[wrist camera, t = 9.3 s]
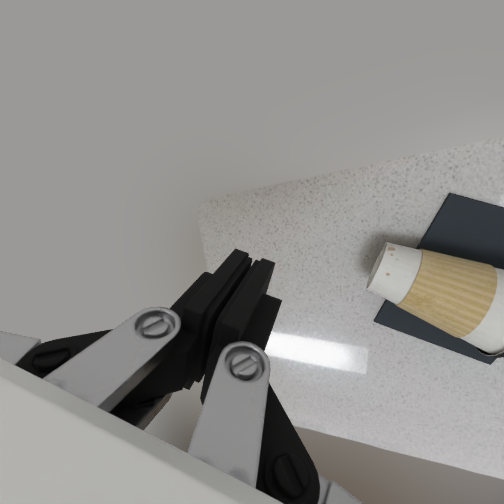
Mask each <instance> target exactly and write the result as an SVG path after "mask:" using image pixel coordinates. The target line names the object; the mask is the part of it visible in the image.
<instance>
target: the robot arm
mask: <svg viewBox="0 0 504 504" xmlns="http://www.w3.org/2000/svg"><path fill="white" fill-rule="evenodd" d="M248 256H249V254H248V253H246V252H243V251H241V250H238V249H235V250H234V251H233V252H232V253H231V254H230V255H229V256H228V258H227V259H226V260H225V261H224V262H223V263H222V264H221V266H220V267H219V268H218V269H217V270H216V271H215V272H214V274H211V273H208V272H204V273H203V274H202V275H201V276H200V277H199V278H198V279H197V280H196V281H195V282H194V283H193V285H192V286H191V287H190V288H189V289H188V290H187V291H186V292H185V293H184V294H183V295H182V296H181V297H180V298H179V299H178V300H177V301H176V302H175V303H174V305H172V307H171V308H170V309H168V308H164V307H150V308H146V309H143V310H141V311H139V312H138V313H136V314H135V315H133V316H132V317H130V318H129V319H127V320H126V321H125V322H123V323H122V324H120V325H119V326H117V327H116V328H115V329H112V330H106V331H100V332H95V333H89V334H84V335H78V336H72V337H68V338H61V339H56V340H52V341H48V342H45V343H41V341H40V339H36V338H32V337H26V336H22V335H17V334H12V333H7V332H2V331H0V504H363V503H361V502H360V501H359V500H358V499H356V498H355V497H354V496H353V495H351V494H350V493H349V492H347V491H346V490H345V489H344V488H342V487H341V486H340V485H338V484H337V483H336V482H334V481H333V480H331V482H330V483H329V482H328V481H327V480H326V479H324V478H323V477H322V476H320V475H319V474H318V473H317V470H316V468H315V465H314V463H313V461H312V460H311V458H310V456H309V454H308V452H307V450H306V449H305V447H304V445H303V443H302V441H301V439H300V438H299V436H298V434H297V432H296V431H295V429H294V427H293V425H292V423H291V421H290V420H289V418H288V416H287V414H286V412H285V411H284V409H283V407H282V405H281V403H280V402H279V400H278V398H277V396H276V394H275V393H274V391H273V389H272V387H271V385H270V384H269V376H270V361H269V359H268V356H267V355H266V353H265V352H264V350H265V347H266V345H267V342H268V339H269V336H270V334H271V331H272V328H273V325H274V322H275V319H276V317H277V314H278V311H279V308H280V305H281V302H282V300H280V299H277V298H275V297H272V296H269V295H267V294H266V292H267V289H268V286H269V282H270V279H271V276H272V273H273V269H274V266H275V263H274V262H272V261H269V260H266V259H263V258H262V259H261V260H260V261H258V260H255V262H254V263H253V265H252V266H251V263H252V258H250V257H248ZM250 267H251V268H250ZM204 374H205V377H204V381H203V387H202V392H201V397H200V399H201V402H202V405H203V407H202V410H201V413H200V416H199V419H198V422H197V425H196V428H195V431H194V434H193V437H192V440H191V443H190V446H189V449H188V452H187V453H186V452H184V451H182V450H180V449H178V448H176V447H174V446H172V445H170V444H168V443H166V442H164V441H163V440H161V439H159V438H157V437H155V436H153V435H151V434H149V433H147V432H145V431H143V430H144V429H145V428H146V427H147V426H148V424H149V423H150V422H151V421H152V420H153V419H154V417H155V416H156V415H157V414H158V413H159V411H160V410H161V409H162V408H163V407H164V406H165V404H166V403H167V402H168V401H169V399H170V398H171V396H172V394H173V392H176V391H179V390H182V388H183V387H184V388H186V389H189V390H190V388H191V386H192V384H193V383H194V381H196V382H198V383H199V382H200V381H201V379H202V377H203V376H204Z"/></svg>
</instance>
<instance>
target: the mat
mask: <svg viewBox="0 0 504 504" xmlns="http://www.w3.org/2000/svg"><path fill="white" fill-rule="evenodd" d="M417 249H418V250H419V249H424V250H428V251H433V252H437V253H441V254H446V255H450V256H454V257H459V258H463V259H467V260H472V261H476V262H480V263H485V264H489V265H492V266H493V267H494V268H499V269H503V270H504V208H503V207H499V206H496V205H492V204H488V203H485V202H481V201H477V200H474V199H470V198H467V197H463V196H459V195H456V194H452V193H449V195H448V197H447V198H446V200H445V202H444V203H443V205H442V207H441V208H440V210H439V212H438V213H437V215H436V217H435V218H434V220H433V222H432V223H431V225H430V227H429V229H428V230H427V232H426V234H425V235H424V237H423V239H422V240H421V242H420V244H419V245H418V247H417ZM374 322H376V323H379V324H381V325H384V326H387V327H390V328H392V329H395V330H398V331H400V332H403V333H406V334H408V335H411V336H414V337H417V338H419V339H422V340H425V341H427V342H430V343H433V344H436V345H438V346H441V347H444V348H446V349H449V350H452V351H455V352H457V353H460V354H463V355H465V356H468V357H471V358H473V359H476V360H479V361H482V362H484V363H487V364H490V365H491V364H492V363H493V362H494V361H495V360H496V359H497V358H495V357H490V356H486V355H483V354H481V353H480V352H479V351H478V350H477V349H476V347H475V346H474V345H472V344H470V343H468V342H467V341H465V340H463V339H461V338H457V337H454V336H452V335H451V334H449V333H447V332H445V331H443V330H441V329H439V328H437V327H436V326H434V325H432V324H430V323H428V322H426V321H424V320H422V319H421V318H419V317H417V316H415V315H413V314H411V313H409V312H407V311H406V310H404V309H402V308H400V307H398V306H396V305H395V303H393V302H391V301H389V300H387V299H386V301H385V303H384V304H383V306H382V308H381V309H380V311H379V313H378V314H377V316H376V318H375V319H374Z"/></svg>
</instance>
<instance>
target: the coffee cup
mask: <svg viewBox="0 0 504 504" xmlns="http://www.w3.org/2000/svg"><path fill="white" fill-rule="evenodd" d="M366 289H368V290H370V291H372V292H374V293H376V294H378V295H380V296H381V297H383V298H385V299H387V300H389V301H391V302H393V303H395V305H396V306H398V307H400V308H402V309H404V310H406V311H407V312H409V313H411V314H413V315H415V316H417V317H419V318H421V319H422V320H424V321H426V322H428V323H430V324H432V325H434V326H436V327H437V328H439V329H441V330H443V331H445V332H447V333H449V334H451V335H452V336H454V337H457V338H461V339H463V340H465V341H467V342H468V343H470V344H472V345H474V346H475V347H476V349H477V350H478V351H479V352H480V353H481V354H483V355H486V356H490V357H495V358H500V357H504V270H503V269H499V268H494V267H493V266H492V265H489V264H485V263H480V262H476V261H472V260H467V259H463V258H459V257H454V256H450V255H446V254H441V253H437V252H433V251H428V250H424V249H419V250H418V249H414V248H409V247H405V246H401V245H397V244H392V243H388V242H386V243H385V245H384V246H383V248H382V250H381V252H380V253H379V255H378V258H377V260H376V262H375V264H374V266H373V269H372V271H371V274H370V277H369V279H368V283H367V287H366Z"/></svg>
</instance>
